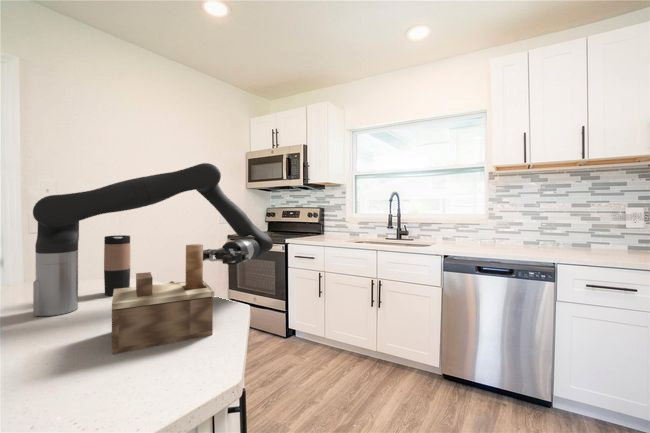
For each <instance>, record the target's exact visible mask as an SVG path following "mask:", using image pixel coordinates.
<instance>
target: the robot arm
mask: <svg viewBox="0 0 650 433" xmlns="http://www.w3.org/2000/svg"><path fill="white" fill-rule="evenodd" d="M221 176H222V173H221V170H220V169H219V168H218V167H217V166H216V165H214V164H211V163H209V162H203V163H199V164H195V165H193V166H189V167H186V168H184V169H179V170H176V171H171V172H170V171H169V172H163V173H159V174H152V175H147V176H146V175H145V176H141V177H136V178H131V179H126V180H123V181H118V182H115V183H111V184H108V185H105V186H102V187H98V188H96V189H91V190H86V191H80V192H74V193H73V192H72V193H64V194H53V195H52V194H51V195H46V196H44V197H41V198H40V199H39V200H38V201H37V202H36V203H35V204H34V206H33V208H32V215H33V218H34V220H35V221H36V222H37V235H36V241H35V246H34V247H35V280H34V281H33V286H32V287H33V288H32V290H33V291H32V292H33V293H32V295H33V296H32V298H33V300H32V301H33V302H32V303H33V304H32V307H33V308H32V310H33V313H32V314H33V315H32V317H49V316H59V315H64V314H67V313H72V312H74V311H76V310H78V308H79V240H80V221H83V220H86V219H89V218H92V217H95V216H100V215H103V214H112V213H117V212H118V213H119V212H123V211H125V212H126V211H130V210H136V209H140V208H145V207H148V206H151V205H155V204H157V203H161V202H163V201H166V200H168V199H170V198H172V197H174V196H177V195H179V194H181V193H186V192H190V191H195V190H196V192H198V193H199V195H201V196H202V197H203V198H204V199H206V200H207V201H208V202H209V203H210V205H211V206H213V207H214V208H215V209H216V211H218V213H219V214H220V215H221V216H222V218H224V220H225V221H226V222H227V224H228V225H229V226H230V228H231V229H232V230H233V231H234V233H236V235H237V236H238V238H241V239H238V240H231V241H227V242H226V243H224V244H223V245H222V247H219V248H215V249H213V248H212V249H211V248H209V249H203V262H206V261H210V262H221V263H222V264H224V265H228V266H236V265H240V264H242V263H245V262H247V261H249V260H253V261H254V260H256V259H259V258H261V257H262V256H264V255H265V254H267V252H270V250H272V249H273V246H274V242H273V239H272V238H271V236H270V235H269V234H267V233H266V232H264V231H262V230H261V229H260V228H259V227H257V225H255V224H254V223H253V222H252V220H251V219H250V218H249V216H248V215H247V213H245V212H244V210H243V209H242V208H240V206H238V205H237V204H236V203H235V202H233V200H231V199H230V198H229V197H228V196H227V194H225V193H224V191H223V190H222V189H221V187H220V185H219V183H220V181H221ZM249 236H250V237H253V239H252V238H247V237H249ZM244 238H246V239H244Z"/></svg>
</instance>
